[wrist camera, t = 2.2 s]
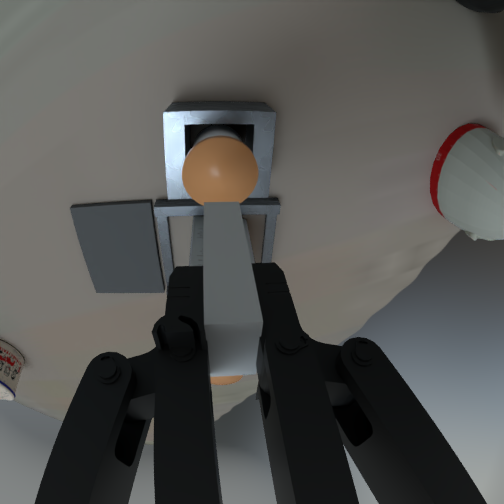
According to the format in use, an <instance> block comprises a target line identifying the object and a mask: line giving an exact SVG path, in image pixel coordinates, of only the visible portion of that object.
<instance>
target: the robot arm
mask: <svg viewBox="0 0 504 504" xmlns="http://www.w3.org/2000/svg"><path fill="white" fill-rule="evenodd" d="M456 1H457V2H459V3H460V4H462V5H463V6H465V7H467V8H469V9H471V10H474V11H477V12H487V13H498V12H501V11H503V10H504V0H456ZM152 334H153V338H154V341H155V344H156V347H155V348H154V349H153V350H151V351H150V352H148V353H145V354H143V355H139V356H135V357H132V358H128V359H127V358H126V357H125V356H123V355H121V354H119V353H117V352H106V353H102V354H99V355H98V356H96V357H95V358H93V359H92V361H91V362H90V364H89V365H88V367H87V369H86V371H85V373H84V375H83V377H82V379H81V382H80V384H79V386H78V388H77V390H76V393H75V395H74V397H73V399H72V402H71V404H70V406H69V409H68V411H67V414H66V416H65V418H64V421H63V423H62V426H61V428H60V431H59V433H58V436H57V438H56V441H55V444H54V446H53V449H52V452H51V455H50V457H49V460H48V463H47V466H46V469H45V472H44V475H43V478H42V481H41V484H40V488H39V491H38V494H37V498H36V501H35V504H128V502H129V498H130V494H131V490H132V487H133V482H134V479H135V475H136V472H137V468H138V464H139V461H140V457H141V453H142V450H143V447H144V443H145V440H146V437H147V433H148V430H149V426H150V423H151V420H152V418H153V417H154V486H155V504H223V503H222V495H221V487H220V478H219V469H218V459H217V450H216V439H215V428H214V415H213V402H212V390H211V378H210V377H218V376H236V375H250V374H256V369H257V373H258V379H259V381H258V387H257V393H256V400H257V399H259V401H260V407H261V413H262V419H263V425H264V431H265V437H266V443H267V449H268V455H269V461H270V467H271V472H272V477H273V484H274V489H275V495H276V501H277V504H359V502H358V498H357V494H356V490H355V486H354V483H353V479H352V475H351V471H350V468H349V464H348V461H347V457H346V453H345V450H344V446H345V448H346V449H347V451H348V453H349V454H350V456H351V458H352V459H353V461H354V463H355V464H356V466H357V468H358V469H359V471H360V473H361V474H362V476H363V478H364V479H365V481H366V483H367V485H368V486H369V488H370V490H371V491H372V493H373V495H374V496H375V498H376V500H377V501H378V503H379V504H487V503H486V501H485V500H484V498H483V497H482V495H481V493H480V492H479V490H478V488H477V487H476V485H475V483H474V482H473V480H472V479H471V477H470V476H469V474H468V472H467V471H466V470H465V468H464V466H463V465H462V463H461V462H460V460H459V459H458V457H457V456H456V454H455V452H454V451H453V450H452V448H451V446H450V445H449V443H448V442H447V441H446V439H445V438H444V436H443V435H442V433H441V432H440V430H439V429H438V427H437V426H436V424H435V423H434V421H433V420H432V419H431V417H430V416H429V414H428V413H427V411H426V410H425V409H424V408H423V406H422V405H421V403H420V402H419V400H418V399H417V397H416V396H415V395H414V393H413V392H412V390H411V389H410V388H409V386H408V385H407V384H406V382H405V381H404V379H403V378H402V377H401V375H400V374H399V373H398V371H397V370H396V369H395V367H394V366H393V364H392V363H391V362H390V361H389V359H388V358H387V356H386V355H385V354H384V352H383V351H382V350H381V348H380V347H379V346H378V345H376V344H375V343H374V342H373V341H371V340H369V339H367V338H361V337H357V338H351V339H349V340H348V341H346V342H345V343H344V345H343V346H338V345H331V344H325V343H321V342H317V341H315V340H313V339H311V338H310V337H309V335H308V334H306V333H305V332H304V331H303V330H302V328H301V326H300V323H299V320H298V317H297V314H296V310H295V307H294V304H293V301H292V297H291V294H290V293H289V288H288V285H287V282H286V278H285V275H284V272H283V271H282V270H281V269H280V268H279V266H278V265H277V264H276V263H275V262H274V263H251V259H250V254H249V249H248V244H247V239H246V234H245V229H244V224H243V219H242V214H241V209H240V204H239V202H204V229H203V266H178V267H176V268H175V269H174V271H173V272H172V273H171V275H170V276H169V284H168V292H167V302H166V311H165V316H163V317H161V318H160V319H159V320H158V321H157V322H156V323H155V324H154V327H153V330H152ZM343 444H344V446H343Z"/></svg>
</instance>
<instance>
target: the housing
mask: <svg viewBox="0 0 504 504" xmlns="http://www.w3.org/2000/svg"><path fill="white" fill-rule="evenodd" d="M163 120H164V146H165V164H166V179H167V192H168V199H163V200H156V202H155V205H154V214H155V217H157V221H158V229H159V236H160V244H161V251H162V257H163V264H164V270H165V276H166V282H167V292H168V284H169V276H170V275H171V273H172V272H173V271H174V266H173V258H172V250H171V242H170V233H169V224H168V216H192V215H204V206H203V205H201V204H199V203H197V202H196V201H195V200H193V199H192V198H191V197H190V195H189V194H188V193H187V191H186V190H185V187H184V185H183V181H182V168H183V164H184V161H185V158H186V156H187V154H188V152H189V151H190V124H246V140H245V144H246V145H247V146H248V147H249V149H250V150H251V151H252V153H253V155H254V157H255V159H256V162H257V165H258V181H257V184H256V186H255V188H254V190H253V192H252V193H251V194H250V196H249V197H248V198H246V199H245V200H244V201H243V202H241V203H239V204H240V209H241V214H242V215H243V214H266V218H265V228H264V238H263V248H262V258H261V263H271V258H272V250H273V242H274V234H275V226H276V217H277V214H280V206H281V205H280V203H279V200H278V198H268V196H269V186H270V175H271V165H272V154H273V143H274V132H275V121H276V112H275V111H274V110H273V109H272V108H271V107H269V106H268V105H267V104H266V103H262V102H233V101H204V102H176V103H172V104H171V105H170V106H169V107H168V108H167V109H166V110H165V111H164V112H163Z"/></svg>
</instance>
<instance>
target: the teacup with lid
mask: <svg viewBox="0 0 504 504" xmlns="http://www.w3.org/2000/svg"><path fill="white" fill-rule="evenodd" d="M23 365H24V359H23V357H22V355H21V354H20V353H19V352H18V351H17V350H16V349H15V348H14V347H12V346H11V345H9V344H8V343H6V342H4V341H2V340H0V399H5V400H13V399H14V398H15V391H16V388H17V384H18V381H19V377H20V374H21V371H22V368H23Z"/></svg>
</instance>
